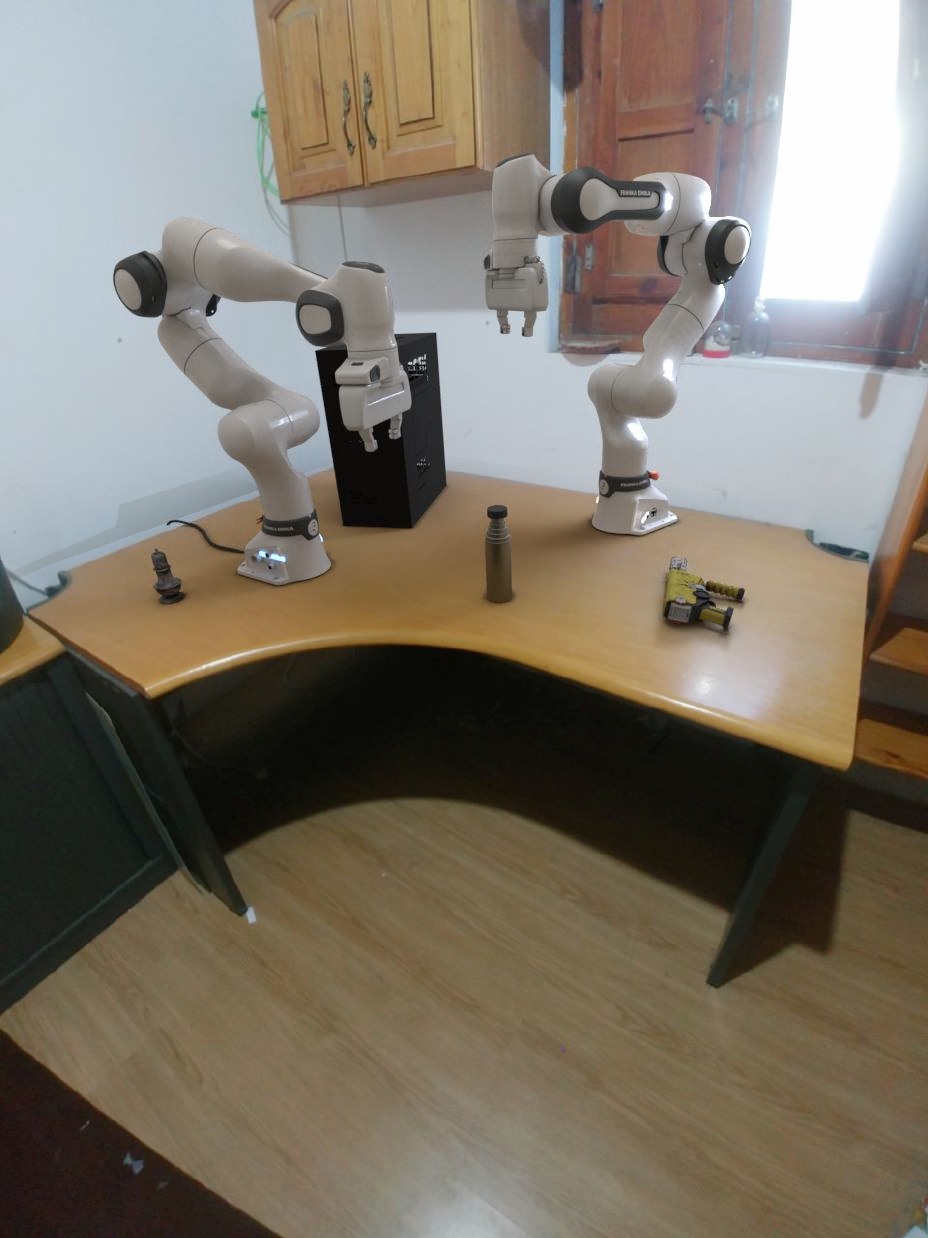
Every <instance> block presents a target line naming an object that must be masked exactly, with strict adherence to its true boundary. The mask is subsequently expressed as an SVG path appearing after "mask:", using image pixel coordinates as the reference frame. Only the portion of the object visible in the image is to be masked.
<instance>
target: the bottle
mask: <svg viewBox="0 0 928 1238" xmlns="http://www.w3.org/2000/svg"><path fill="white" fill-rule="evenodd" d="M484 536H485V537H484V557H485V560H484V561H485V585H486V588H485V589H486V599H487V600H488V601H489V602H492V603H505V602H508V601H510V600H512V597H513V573H512V572H513V570H512V569H513V567H512V565H513V564H512V561H513V559H512V536H511V533H510V529H509V528H508V525H507V522H506V520H505V518H502V519H491V518H490V521H489V523H488V526H487V529H486V533H485V535H484Z"/></svg>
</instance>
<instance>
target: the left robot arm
mask: <svg viewBox="0 0 928 1238" xmlns="http://www.w3.org/2000/svg"><path fill="white" fill-rule="evenodd" d="M112 273H113V275H112V282H113V287H114V290H115V294H116V295H117V298H118V299H119V301H120V302H121V304H122V306H123V307H124V308H126V309H127V311H129V312H130V313H131V314H133V315H134V316H137V317H140V318H148V319H149V318H151V319H153V318H155V319H156V318H159V317H161V320H160V322H158V326H157V331H156V332H157V333H156V334H157V339H158V341H159V344H160V346H162V348H163V350H164V351H165V353H166V354H167V355H168V357H169V359H171V361H172V362H173V363H174V365H175V366H176V367H177V368H178V369H179V371H181V373H182V374H183V375H184V376H185V377H186V378H187V379H188V380H189V381H190V382H191V383H192V384H193V386H195V387H196V388H197V389H198V390H199V391H200V392H201V393H202V394H203V395H204V396H205V397H206V398H207V399H208V400H209V401H210V402H211V403H212V404H214V405H216V406H217V407H219V408H222V409H226V410H230V411H229V412H228V413H226V414H224V415H223V416H222V417H221V418H220V420H219V421H218V424H217V438H218V442H219V445H220V446H221V448H222V449H223V451H224V453H226V455H227V456H229V457H230V458H231V459H232V460H234V461H236V462H238V463H240V464H242V466H244V467H245V469H246V470H247V471H248V472H249V474H250V475H251V477H252V478H253V480H254V483H255V485H256V488H257V491H258V494H259V498H260V502H261V507H262V510H263V514H262V515H261V517H259V518H257V519H255V521H256V525H259V524H261V529H260V531H259V532H258V533H256V535H255V536H254V537H253V538H252V539H251V540H250V541H249V542H247V544H246V545H245V547H244V550H240V549H239V548H238V549H237V548H233V547H228V546H223V545H220V544H216V543H214V542H212V540H211V539H210V538H209V536H208V535H207V533H206V531H205V530H204V529H203V528H202V527H201V526H200V525H198V524H196V523H192V522H189V521H184V520H180V519H171V520H168V521H167V522H166V526H170V525H171V524H173V523H177V524H178V523H179V524H182V525H183V524H184V525H186V526H191V527H195V528H196V529H198V530H199V531H200V532H201V533H202V535H203V537H204V539H205V540H206V541H207V542H208V544H210V546H213V547H215V548H216V549H217V548H218V549H220V550H225V551H230V552H235V553H238V554H244V561H243V562H242V563H240V564H239V566H238V567H237V568H236V571H237V574H238V575H239V576H240V575H241V576H244V577H247V578H249V579H250V578H251V579H254V580H256V581H261V582H263V583H267V584H269V585H274V586H283V585H287V584H290V583H294V582H300V581H301V582H302V581H305V580H309V579H314V578H316V577H319V576H320V575H323V574H324V573H326V572H327V571H328V570H329V569H330V568H331V566H332V562H331V560H330V558H329V556H328V555H327V552H326V549H325V547H324V544H323V542H324V540H323V537H322V535H321V534H320V527H319V519H318V514H317V509H316V508H315V506H314V502H313V497H312V492H311V487H310V481H309V478H308V476H307V475H306V473H305V472H303V471H301V470H300V469H298V468H296V467H294V466H293V465H292V462H291V460H290V458H289V455H288V450H290V449H292V448H295V447H298V446H300V445H303V444H304V443H306V442H308V440H310V439H311V438H312V437H314V435H316V433H318V431H319V428H320V425H321V416H320V412H319V409H318V406H317V405H316V404H315V402H314V401H313V400H312V399H311V398H310V397H308V396H306V395H305V394H301V393H297V392H294V391H291V390H289V389H287V388H285V387H283V386H281V385H280V384H277V383H276V382H274V381H273V380H271V379H269V378H268V377H266V376H265V375H263V374H261V372H259V371H257V370H256V369H254V368H253V367H252V366H251V365H250V364H248V363H247V362H246V361H245V359H243V358H242V357H241V356H240V355H239V354H238V353H237V352H236V351H235V350H234V349H233V348H232V347H231V346H230V344H228V343H227V342H226V341H225V340H224V339H223V338H222V336H220V335H219V334H218V333H217V332H216V331H215V330H214V329H213V328H212V326H211V325H210V323H209V321H208V319H207V318H210V317H212V316H214V315H215V314H216V313H217V311H218V304H219V303H220V301H221V300H222V299H226V300H229V301H233V302H238V303H259V302H262V303H263V302H287V303H293V304H295V313H294V314H295V315H294V316H295V321H296V325H297V328H298V330H299V332H300V335H302V337H303V338H304V339H305V341H306V342H307V343H309V344H310V345H312V346H314V347H318V348H326V347H331V346H337V345H344V344H346V345H347V350H348V358H347V359H346V360H345V362H344V363H343V364H342V365H341V366H340V367H339V368H338V369H337V371H336V372H335V378H336V382H337V384H342V385H341V387H340V390H339V399H340V407H341V413H342V418H343V422H344V425H345V426H346V428H347V429H348V430H352V431H359V434H360V436H361V437H362V439H363V441H364V443H365V449H366V451H368V452H373V451H375V450H377V448H378V447H377V440H374V438H373V435H372V432H373V427H372V426H374V425H376V424H379V423H381V422H383V421H385V420H387V419H389V418H390V419H391V427H390V429H389V437H390V438H391V439H397V438H399V437H400V436H401V433H400V427H401V422H402V412H404V411H407V410H409V409H410V407H411V393H410V387H409V381H408V377H407V374H406V372H405V371H403V366H402V365H401V363H400V362H399V357H398V347H397V342H396V339H395V336H394V334H395V331H394V330H395V329H394V327H395V322H396V321H395V309H394V300H393V295H392V289H391V284H390V281H389V278H388V274H387V272H386V271H385V269H384V268H383V267H382V266H380V264H376V263H373V262H367V261H357V260H350V261H344V262H342V263H341V264H340V265H339V266H338V268H337V269H336V271H335V272H334V273H333V274H332V275H331V276H330V277H329V278H328V277H326V276H324V275H322V274H319V273H316V272H314V271H311V270H309V269H306V268H304V267H303V266H302V267H301V266H299V265H297V264H294V263H292V262H289V261H287V260H285V259H283V258H282V257H279V256H277V255H275V254H273V253H271V252H269V251H267V250H266V249H264V248H261V247H259V246H257V245H255V244H253V243H252V242H250V241H248V240H246V239H245V238H242V237H240V236H238V235H236V234H234V233H232V232H231V231H228V230H227V229H224V228H222V227H220V226H217V225H216V224H212V223H210V222H207V221H203V220H200V219H195V218H192V217H186V216H185V217H184V216H179V217H176V218H173V219H171V220H170V221H169V222H168V223H167V224H166V225H165V226H164V229H163V232H162V236H161V248H160V249H159V250H157V251H147V250H142V251H139V252H137V253H134V254H131V255H129V256H127V257H125V258H123V259H121V260H120V261H118V262H117V263H116V264H115V266H114V269H113V272H112Z"/></svg>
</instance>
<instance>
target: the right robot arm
mask: <svg viewBox="0 0 928 1238" xmlns="http://www.w3.org/2000/svg"><path fill="white" fill-rule="evenodd" d="M711 200H712V194H711V189H710V186H709V185H708V183H707V182H706V181H705V180H704V179H703V178H701V177H698V176H695V175H692V174H689V173H682V172H675V171H673V172H672V171H660V172H659V171H658V172H651V173H646V174H641V175H640V176H637V177H635V178H633V179H632V180H624V179H623V180H621V179H613V178H610V177H609V176H607V175H606V174H604V173H603V172H601V171H600V170H599V169H596V168H594V167H592V166H585V165H584V166H579V167H577V168H575V169H573V170H569V171H568V172H566V173H565V172H564V173H562V174H559V175H558V174H556V173H554V172H552V171H551V170H549V169H547V168H546V167H545V166H543V165H542V163H540V161H539V160H538V159H537V157H536V156H535V153H531V152H525V153H520V154H517V155H513V156H509V157H507V158H504V159H501V160H500V161H499V162H497V164H496V165H495V167H494V170H493V174H492V183H491V216H492V220H493V227H494V228H493V235H492V248H491V249H490V250H489V252H488V253H487V254H486V255H485V256H484V257H483V258H482V269H483V271H485V273H484V297H485V304H486V306H487V307H486V308H487V309H488V310H492V311H496V318H497V321H498V323H499V324H498V325H499V333H500V335H510V334H511V324H509V318H508V316H509V312H523V318H524V323H523V326H522V327H521V336H522V337H523V338H531V337H533V335H534V326H535V324H536V320H537V318H538V316H537V315H538V314H537V313H540V312H546V311H547V310H548V308H549V307H548V306H549V303H550V297H549V296H550V295H549V279H548V278H549V277H548V273H547V269H546V268H545V263H544V262H543V260H542V258H541V256H539V236H542V237H546V238H547V237H549V238H550V237H557V236H558V237H560V236H566V235H567V236H568V235H585V234H586V235H587V234H589V233H592V232H594V231H595V230H597V229H598V228H600V227H602V226H603V225H605V224H606V223H608V222H623V224H624V226H625V227H626V230H628V232H629V233H631V234H634V235H639V236H645V237H658V242H657V248H656V259H657V264H658V267H659V269H660V270H661V271H662V272H663V273H664V274H666V275H669V276H672V277H682V279H681V283H680V285H679V287H678V289H677V291H676V292H675V294H674V295H673V296H672V297H671V298H670V300H669V301H668V302H667V303H666V305H665V306H664V307H663V308H662V310H661V311H660V313H659V314H658V315H657V316H656V318H655V319H654V320H653V322H652V323H651V324H650V326H649V327H647V330H646V331H645V332H644V335H643V337H642V345H643V350H644V351H643V353H642V356H641V358H640V359H639V360H638V361H637V363H635V364H625V363H619V362H615V363H614V362H613V363H607V364H604V365H601V366H597V368H595V369H594V371H593V372H591V374H590V376H589V378H588V380H587V395H588V398H589V399H590V401H591V402H592V404H593V406H594V408H595V411H596V414H597V417H598V418H597V419H598V421H599V427H600V432H601V440H602V447H601V448H602V449H601V450H602V451H601V468H600V470H599V474H598V492H599V493H598V495H597V498H596V507H595V511H594V514H593V517H592V520H591V525H592V526H593V527H594V528H595V529H597V530H599V531H601V532H605V533H611V534H623V535H625V534H626V535H632V536H633V535H634V536H645V535H646V534H650V533H652V532H654V531H657V530H660V529H662V528H665V527H668V526H670V525H672V524H675V523H677V522H678V516H677V515H676V514H675V513H674V512H672V511H670V503H669V502H670V501H669V498H668V497H667V496H666V495H665V494H664V493H663V492H661V491H660V490H659V489H658V488H656V487H655V486H654V485H652V483H651V480H653V481H658V479H659V478H660V473H659V472H657V471H654V470H651V471H649V470H648V469H647V466H648V458H649V457H648V455H649V446H650V441H649V437H648V435H647V434H646V432H645V431H644V429H643V427H642V424H641V420H656V419H662V418H664V417H666V416H667V415H669V413H670V412H671V411H672V410H673V408H674V406H675V405H676V402H677V399H678V395H679V389H678V388H679V387H678V383H677V377H678V373H679V371H680V368H681V366H682V365H683V363H684V361H685V359H686V358H687V357H688V355H689V354H690V353H691V352H692V350H693V348H694V347H695V346H696V345H697V343H698V342H699V340H701V338H702V337H703V336H704V335H705V333H706V331H707V330H708V328H709V327H710V325H711V324H712V322H713V321H714V319H715V318H716V316H717V315H718V313H719V311H720V309H721V307H722V305H723V303H724V300H725V288H724V285H725V284H727V283H729V282H730V281H732V280H733V279H734V278H735V275H736V274H737V271H738V270H739V269H740V268H741V267H742V265H743V263H744V262H745V260H746V258H747V256H748V254H749V252H750V249H751V243H752V231H751V228H750V225H749V224H748V223H747V222H746V221H745V220H743V219H741V218H738V217H736V216H724V217H710V215H709V210H710V207H711Z"/></svg>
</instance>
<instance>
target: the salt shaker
mask: <svg viewBox="0 0 928 1238" xmlns="http://www.w3.org/2000/svg"><path fill="white" fill-rule="evenodd" d="M150 558H151V560H152V565H153V569H152V570H153V572H155V573H156V574H155V575H156V578H157V581H156V582H155V583H154V584H153V585H152V588H153V589H154V590H155V591H156V593H157V594H159V595H161V596H160V597H159V599H158V600H159V602H160V603H161V604H172V603H176V602H178V601H181V600H182V599H184V598H185V593H184V592H182V591H181V589H182V582H183V581H182V579H181V578H180V577H175V576H174V575H173V572H172V569H171V568H172V565H171V564H169V561H168V558H167V556H166V553H165V552H163V551H160V550H159V549H158V548H157V547H155V548H154V552H153V553H152V554H151V555H150Z"/></svg>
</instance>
